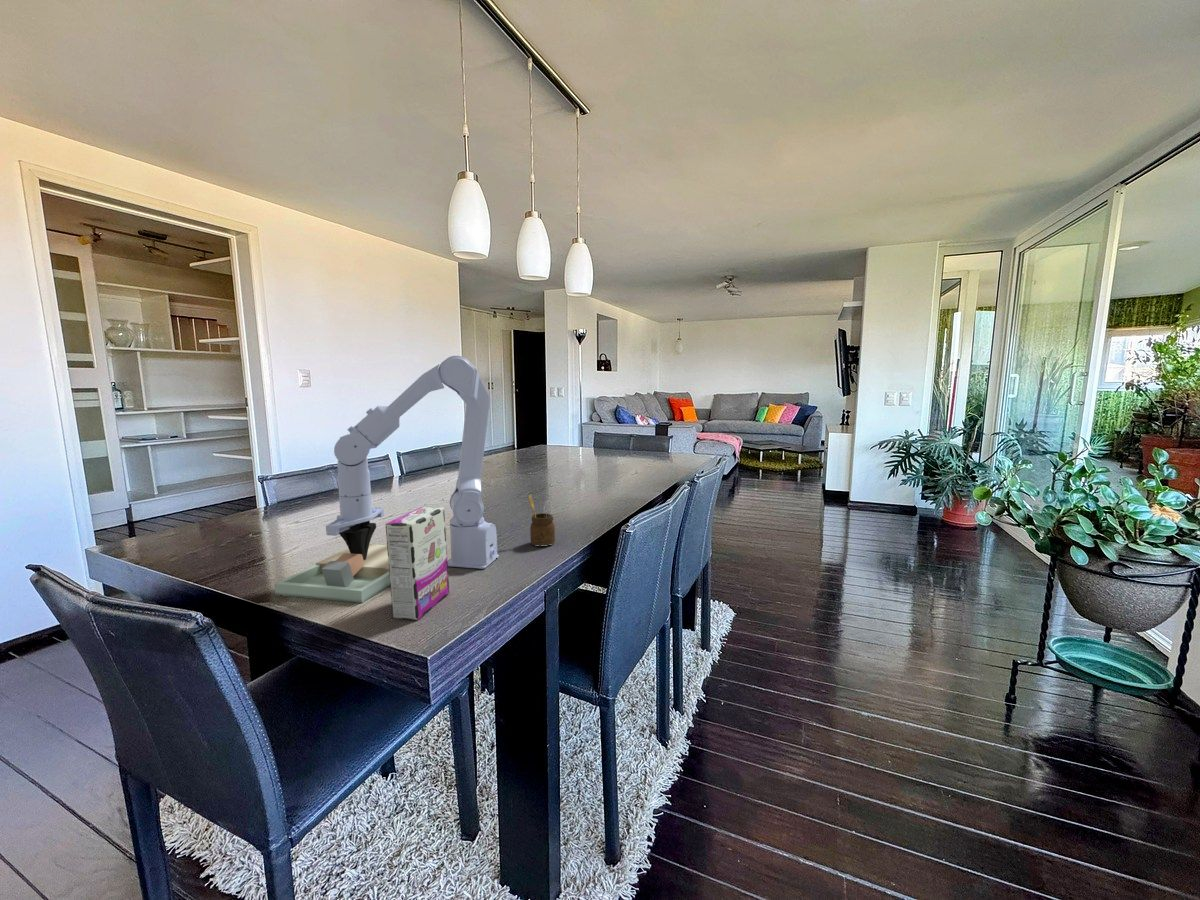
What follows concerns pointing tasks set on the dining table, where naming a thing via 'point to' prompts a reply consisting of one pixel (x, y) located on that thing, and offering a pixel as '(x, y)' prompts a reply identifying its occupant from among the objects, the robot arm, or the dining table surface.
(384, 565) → the birch plate
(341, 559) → the terracotta block
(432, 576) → the candy bar box
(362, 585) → the sage tray
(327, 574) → the slate-grey block
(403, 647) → the dining table surface
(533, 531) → the utensil holder
